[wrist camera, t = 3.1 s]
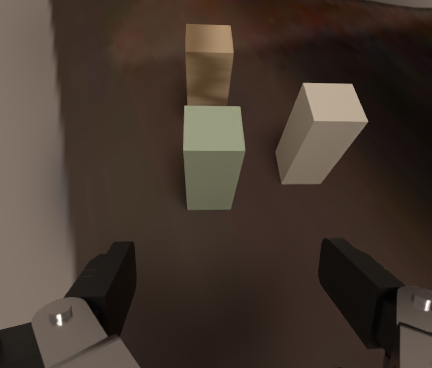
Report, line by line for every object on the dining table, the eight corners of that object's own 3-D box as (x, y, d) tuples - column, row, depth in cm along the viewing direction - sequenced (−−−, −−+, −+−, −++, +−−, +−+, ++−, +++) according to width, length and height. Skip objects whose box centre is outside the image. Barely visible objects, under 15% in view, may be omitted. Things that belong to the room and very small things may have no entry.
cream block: (311, 151, 33) (352, 84, 25) (320, 184, 31) (368, 121, 22) (275, 151, 33) (303, 83, 24) (281, 184, 31) (314, 121, 22)
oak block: (222, 100, 37) (230, 25, 28) (224, 126, 35) (233, 53, 26) (188, 100, 37) (186, 24, 28) (188, 125, 34) (185, 51, 26)
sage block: (228, 173, 31) (240, 106, 22) (230, 209, 29) (245, 150, 20) (187, 173, 31) (184, 105, 22) (187, 210, 28) (183, 150, 20)
